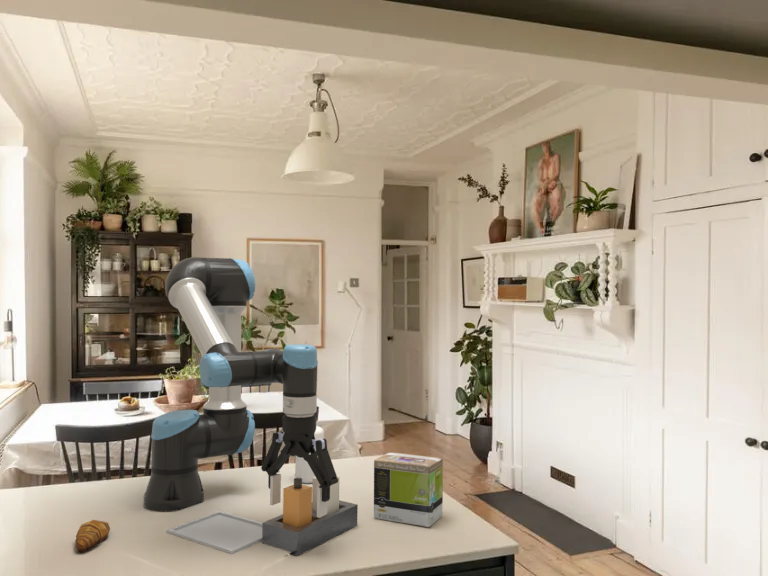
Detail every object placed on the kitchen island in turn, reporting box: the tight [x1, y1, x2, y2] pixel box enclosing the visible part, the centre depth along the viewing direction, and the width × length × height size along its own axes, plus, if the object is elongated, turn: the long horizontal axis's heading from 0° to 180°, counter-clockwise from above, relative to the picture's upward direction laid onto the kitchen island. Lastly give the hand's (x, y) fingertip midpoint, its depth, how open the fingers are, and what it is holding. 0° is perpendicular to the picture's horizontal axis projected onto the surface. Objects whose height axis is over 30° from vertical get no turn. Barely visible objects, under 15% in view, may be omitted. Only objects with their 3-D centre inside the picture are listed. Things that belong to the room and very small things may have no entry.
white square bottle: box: [311, 475, 340, 514], centre depth 152 cm, size 4×4×12 cm
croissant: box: [74, 519, 111, 553], centre depth 142 cm, size 14×7×5 cm, turn 2°
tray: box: [165, 510, 264, 555], centre depth 147 cm, size 21×16×1 cm
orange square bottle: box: [282, 477, 312, 528], centre depth 143 cm, size 4×4×12 cm
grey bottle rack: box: [261, 499, 359, 557], centre depth 147 cm, size 10×22×5 cm, turn 147°
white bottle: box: [294, 418, 325, 484], centre depth 190 cm, size 8×8×18 cm
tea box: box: [373, 451, 444, 528], centre depth 160 cm, size 15×10×15 cm, turn 65°
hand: (298, 509), depth 143 cm, fingers open, 13 cm apart
